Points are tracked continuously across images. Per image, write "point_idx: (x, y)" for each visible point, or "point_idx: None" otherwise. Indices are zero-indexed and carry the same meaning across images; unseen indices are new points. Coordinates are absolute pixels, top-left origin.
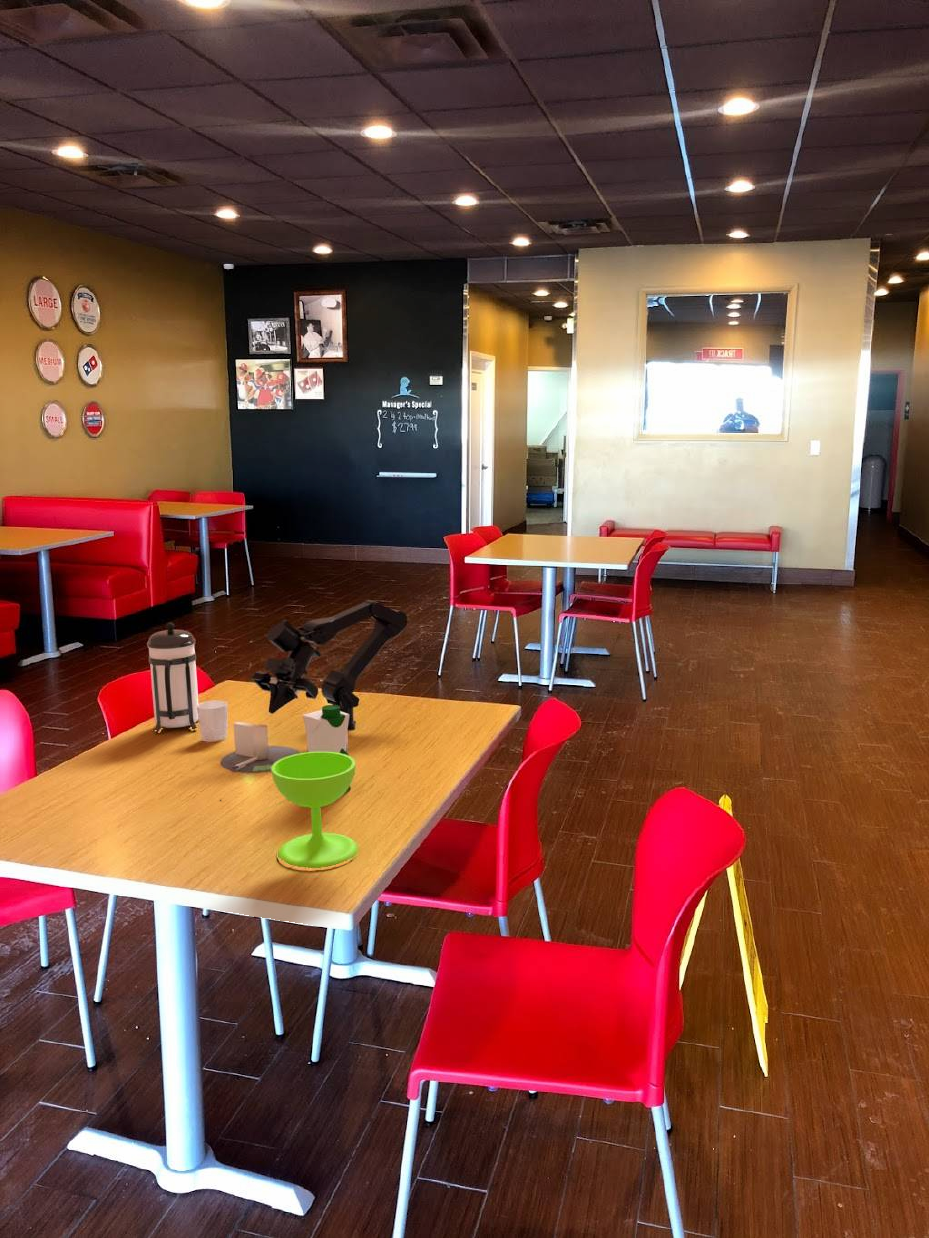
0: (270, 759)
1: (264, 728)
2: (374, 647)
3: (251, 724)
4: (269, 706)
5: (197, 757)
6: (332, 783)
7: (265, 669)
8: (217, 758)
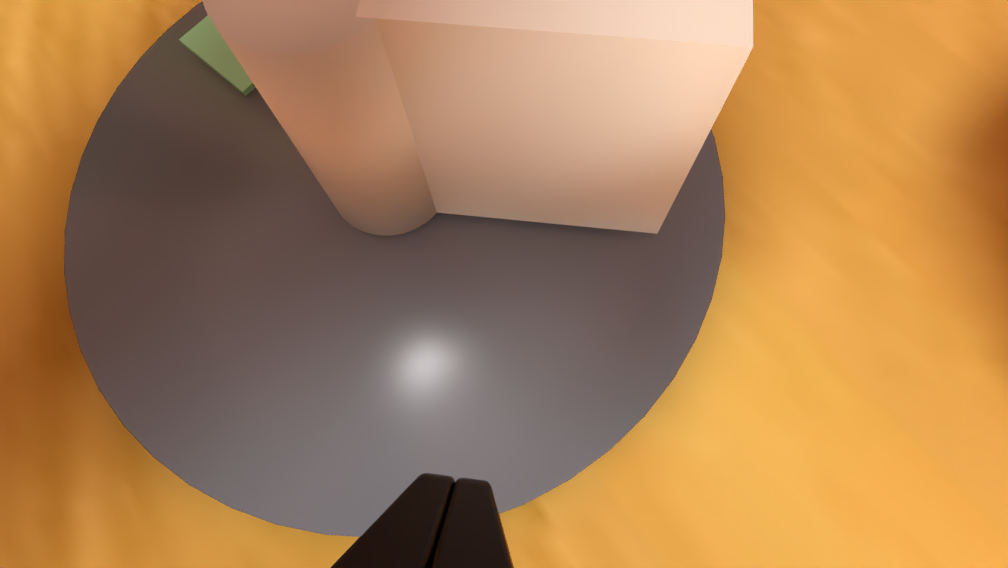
0: (313, 196)
1: None
2: None
3: (472, 6)
4: (496, 555)
5: (934, 100)
6: None
7: None
8: (775, 136)
